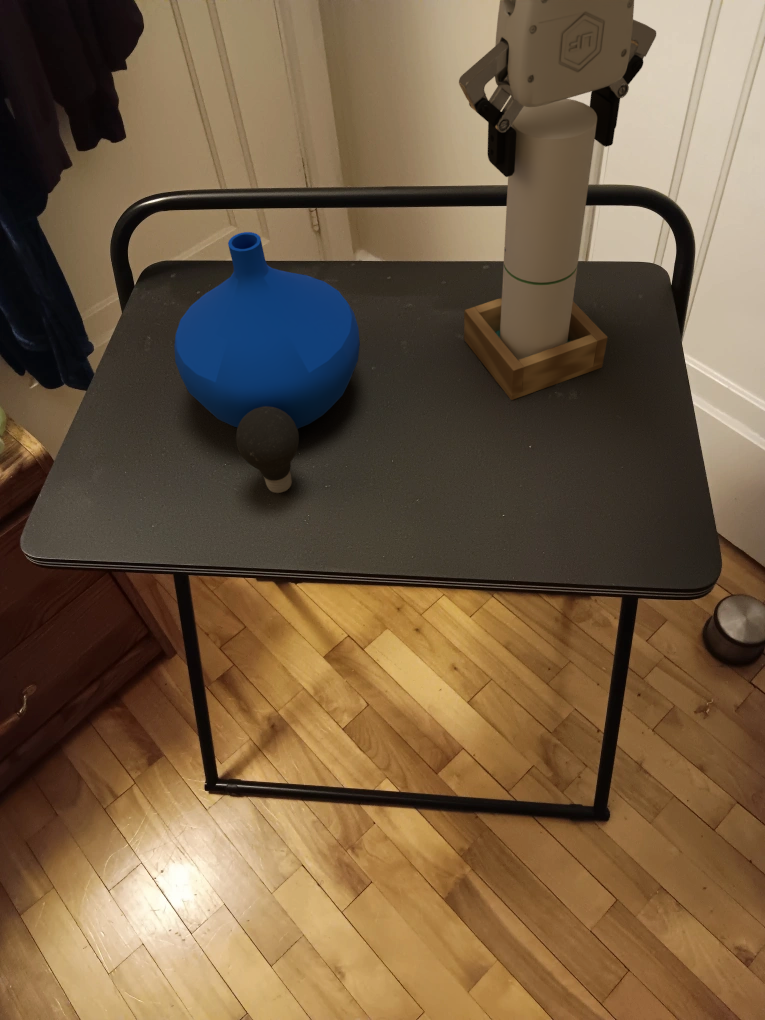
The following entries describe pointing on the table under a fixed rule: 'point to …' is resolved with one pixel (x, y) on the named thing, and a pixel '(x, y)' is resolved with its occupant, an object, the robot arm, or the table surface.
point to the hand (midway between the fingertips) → (551, 154)
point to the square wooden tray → (539, 368)
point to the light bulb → (269, 444)
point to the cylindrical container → (545, 224)
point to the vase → (267, 341)
